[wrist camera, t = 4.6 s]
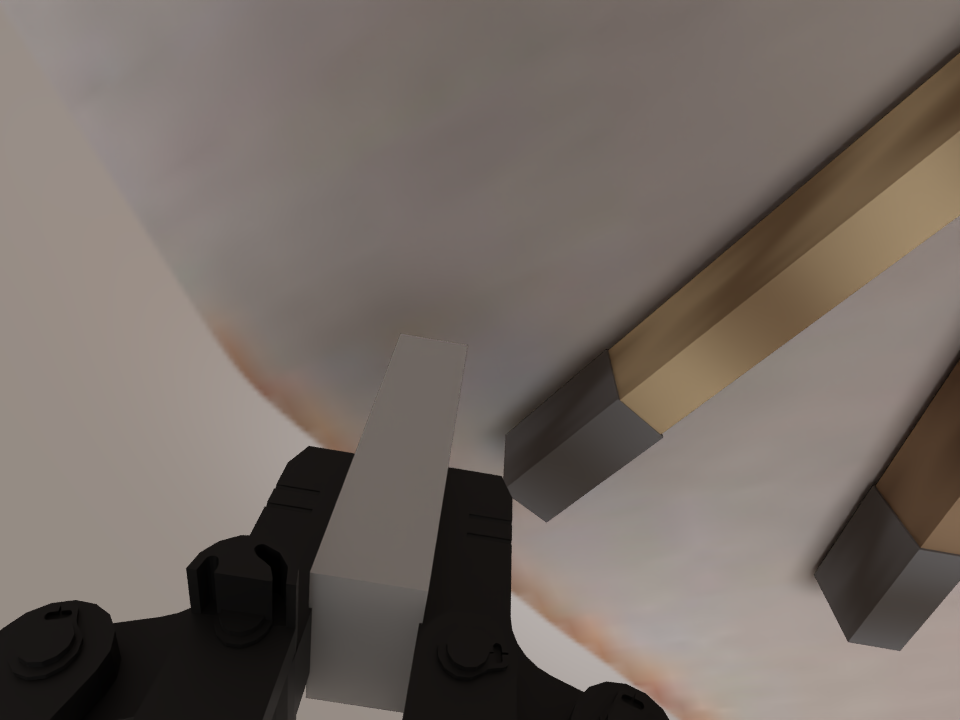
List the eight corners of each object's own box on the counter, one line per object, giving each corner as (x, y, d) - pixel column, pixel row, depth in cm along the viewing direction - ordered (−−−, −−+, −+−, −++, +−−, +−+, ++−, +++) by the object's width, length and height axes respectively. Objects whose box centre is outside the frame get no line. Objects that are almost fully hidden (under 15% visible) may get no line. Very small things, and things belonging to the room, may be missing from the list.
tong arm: (1176, -137, 13) (1382, -184, 10) (1213, -64, 14) (1419, -87, 11) (505, 434, 22) (502, 505, 19) (544, 463, 23) (547, 537, 20)
